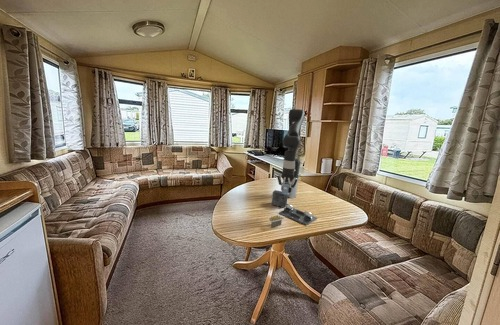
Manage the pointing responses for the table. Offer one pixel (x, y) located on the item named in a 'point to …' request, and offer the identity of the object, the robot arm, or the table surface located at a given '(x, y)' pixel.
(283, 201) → the small box
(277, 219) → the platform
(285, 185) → the block with round knob
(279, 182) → the robot arm
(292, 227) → the table surface
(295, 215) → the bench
